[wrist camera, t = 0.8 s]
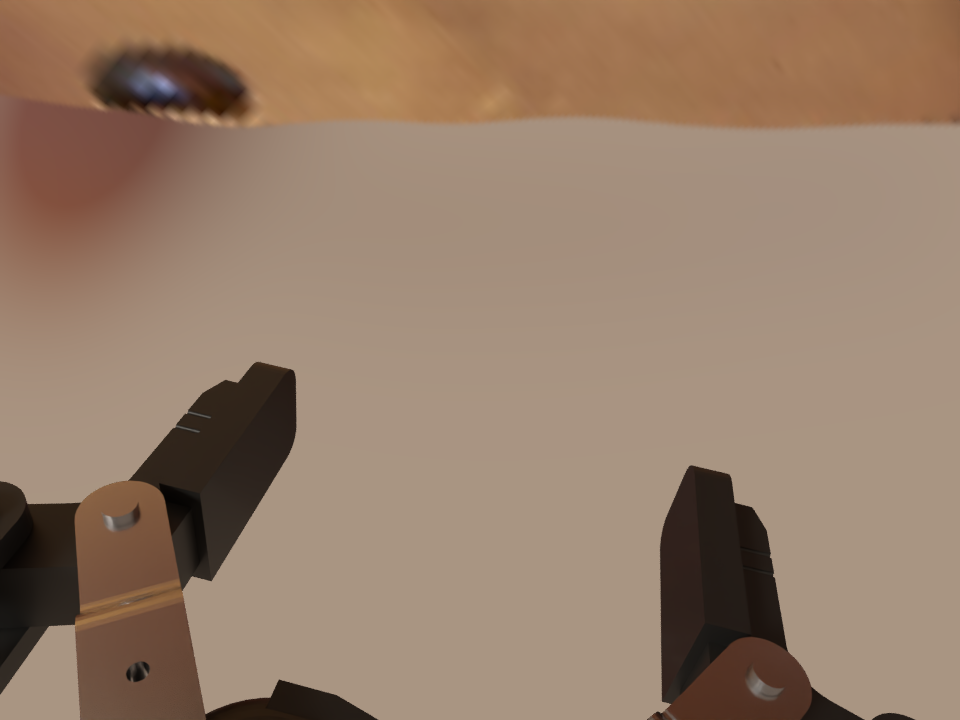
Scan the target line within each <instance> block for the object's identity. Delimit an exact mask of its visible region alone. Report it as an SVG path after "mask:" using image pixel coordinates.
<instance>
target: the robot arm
mask: <svg viewBox="0 0 960 720" xmlns="http://www.w3.org/2000/svg"><path fill="white" fill-rule="evenodd" d="M295 433H296V378H295V373H294V371H293V370H291V369H287V368H282V367H278V366H274V365H269V364H265V363H261V362H256V363H254V364H253V365H252V366H251V367H250V369H249V370H248V371H247V372H246V374H245V375H244V376H243V377H242V379H241V380H240V381H239V382H238V383H236V382H232V381H228V380H225V381H223V382H221V383H219V384H218V385H216V386H214V387H212V388H211V389H209V390H207V391H205V392H204V393H202V395H201V396H200V397H199V398H198V399H197V400H196V402H195V403H194V404H193V405H192V406H191V408H190V409H189V410H188V413H187V414H185V415H184V416H183V417H182V418H181V419H180V421H179V422H178V423H177V425H176V428H173V429H172V430H171V431H170V432H169V434H168V435H167V436H166V437H165V438H164V439H163V441H162V442H161V443H160V444H159V445H158V447H157V448H156V449H155V450H154V451H153V452H152V454H151V455H150V456H149V457H148V458H147V460H146V461H145V462H144V463H143V464H142V465H141V467H140V468H139V469H138V470H137V472H136V473H135V474H134V475H133V476H132V477H131V479H129V480H128V481H122V482H116V483H112V484H109V485H106V486H104V487H102V488H99V489H98V490H96V491H94V492H93V493H91V494H90V495H89V496H87V497H86V498H85V499H84V500H83V501H82V502H81V503H66V504H27V501H26V498H25V495H24V494H23V492H22V491H21V489H19V488H18V487H17V486H15V485H13V484H10V483H7V482H1V481H0V694H1V693H2V691H3V690H4V689H5V687H6V686H7V684H8V683H9V682H10V680H11V679H12V677H13V676H14V674H15V673H16V671H17V670H18V669H19V667H20V666H21V665H22V663H23V662H24V660H25V659H26V658H27V656H28V655H29V653H30V652H31V650H32V649H33V648H34V646H35V645H36V643H37V642H38V641H39V639H40V638H41V636H42V635H43V634H44V632H45V631H46V629H47V628H48V627H49V626H58V625H75V633H76V651H77V668H78V687H79V705H80V720H377V719H376V718H374V717H373V716H371V715H369V714H368V713H366V712H364V711H362V710H361V709H359V708H357V707H356V706H354V705H352V704H351V703H349V702H347V701H345V700H344V699H342V698H340V697H339V696H337V695H334V694H330V693H326V692H322V691H319V690H315V689H311V688H308V687H304V686H300V685H297V684H293V683H290V682H286V681H282V680H279V681H278V683H277V685H276V687H275V689H274V691H273V694H272V696H271V698H257V699H249V700H245V701H240V702H236V703H232V704H229V705H226V706H223V707H221V708H218V709H216V710H213V711H211V712H209V713H207V714H205V711H204V706H203V700H202V695H201V690H200V684H199V679H198V673H197V668H196V663H195V657H194V652H193V647H192V641H191V636H190V631H189V625H188V620H187V615H186V609H185V604H184V599H183V593H182V591H183V589H184V587H185V586H186V584H187V583H188V581H189V580H190V578H191V577H192V576H194V577H197V578H201V579H205V580H209V581H212V580H213V578H214V576H215V575H216V573H217V571H218V570H219V568H220V566H221V565H222V563H223V561H224V560H225V558H226V557H227V555H228V553H229V552H230V550H231V548H232V547H233V545H234V544H235V542H236V540H237V539H238V537H239V535H240V534H241V532H242V531H243V529H244V527H245V526H246V524H247V522H248V521H249V519H250V517H251V516H252V514H253V513H254V511H255V509H256V508H257V506H258V504H259V503H260V501H261V499H262V498H263V496H264V495H265V493H266V491H267V490H268V488H269V486H270V485H271V483H272V481H273V480H274V478H275V477H276V475H277V473H278V472H279V470H280V468H281V467H282V465H283V463H284V462H285V460H286V459H287V457H288V455H289V453H290V450H291V448H292V446H293V442H294V439H295ZM770 554H771V553H770V547H769V541H768V536H767V531H766V529H765V527H764V526H763V524H762V522H761V521H760V519H759V517H758V516H757V514H756V513H755V511H754V510H753V508H752V507H749V506H745V505H741V504H736V503H735V502H734V495H733V487H732V481H731V477H730V475H729V474H725V473H722V472H717V471H713V470H709V469H704V468H700V467H696V466H689V467H688V469H687V471H686V473H685V475H684V477H683V479H682V482H681V484H680V486H679V489H678V491H677V494H676V496H675V498H674V500H673V503H672V505H671V507H670V510H669V512H668V515H667V517H666V520H665V523H664V526H663V531H662V536H661V544H660V570H661V572H660V576H661V577H660V578H661V656H662V657H661V659H662V660H661V663H662V702H666V703H670V704H671V705H670V706H669V707H668V708H667V709H666V710H665V711H664V712H663V713H660V712H656V713H654V714H653V715H652V716H651V717H650V718H648V719H647V720H864V719H862V718H860V717H858V716H857V715H855V714H853V713H851V712H849V711H847V710H846V709H844V708H842V707H840V706H839V705H837V704H835V703H833V702H832V701H830V700H828V699H827V698H825V697H823V696H822V695H821V694H819V693H818V692H817V691H816V690H814V689H813V688H812V687H811V685H810V682H809V679H808V677H807V675H806V673H805V671H804V670H803V668H802V666H801V665H800V664H799V663H798V662H797V660H796V659H795V658H794V657H793V656H792V655H791V654H790V653H789V652H788V650H787V647H786V641H785V635H784V629H783V623H782V617H781V612H780V605H779V600H778V594H777V588H776V582H775V578H774V577H773V574H774V570H773V565H772V559H771V558H770ZM872 720H914V719H912V718H910V717H907V716H904V715H900V714H895V713H886V714H881V715H878V716H876V717H875V718H873V719H872Z"/></svg>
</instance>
